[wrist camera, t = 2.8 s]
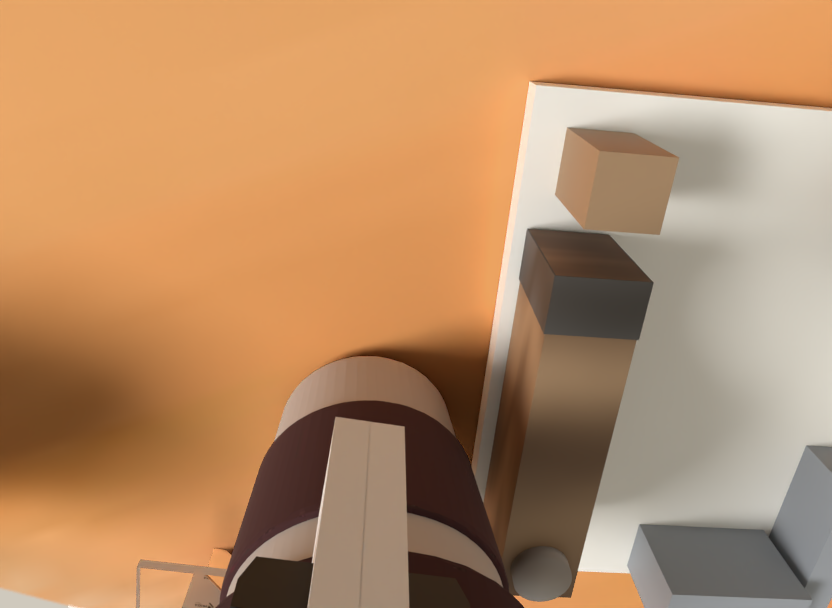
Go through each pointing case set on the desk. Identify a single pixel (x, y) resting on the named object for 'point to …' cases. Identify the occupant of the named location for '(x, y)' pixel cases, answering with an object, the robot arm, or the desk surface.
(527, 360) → the leg
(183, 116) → the desk surface
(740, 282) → the board
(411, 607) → the robot arm
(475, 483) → the coffee cup
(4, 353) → the desk surface
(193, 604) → the grey frame
